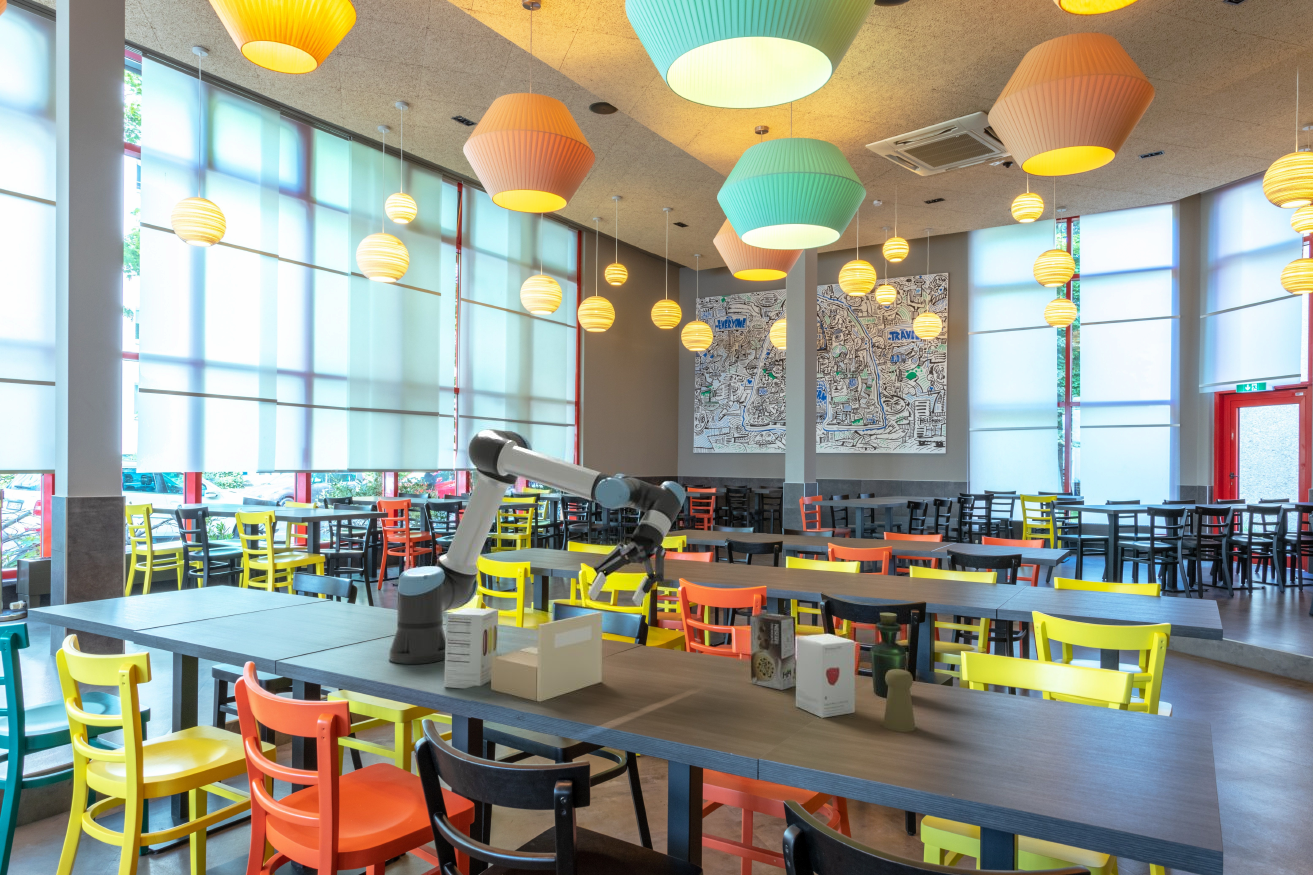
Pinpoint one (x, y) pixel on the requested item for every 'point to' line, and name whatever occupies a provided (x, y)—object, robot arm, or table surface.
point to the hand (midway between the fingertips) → (612, 599)
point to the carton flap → (569, 655)
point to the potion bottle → (886, 653)
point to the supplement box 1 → (470, 646)
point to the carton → (516, 673)
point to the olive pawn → (899, 701)
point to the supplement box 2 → (825, 675)
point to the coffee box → (773, 650)
